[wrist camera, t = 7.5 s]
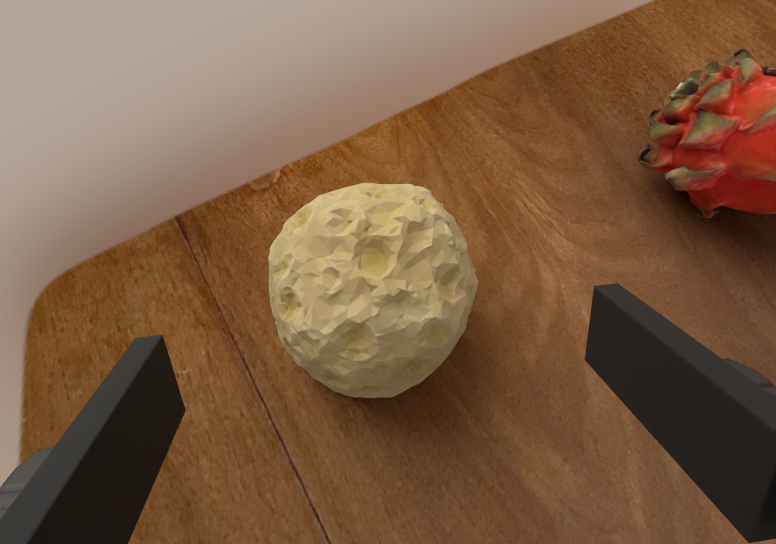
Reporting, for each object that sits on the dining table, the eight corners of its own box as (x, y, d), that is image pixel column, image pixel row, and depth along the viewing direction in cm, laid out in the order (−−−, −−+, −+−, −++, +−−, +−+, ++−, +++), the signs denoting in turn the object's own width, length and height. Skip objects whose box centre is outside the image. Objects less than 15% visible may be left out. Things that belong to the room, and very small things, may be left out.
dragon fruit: (584, 170, 30) (744, 202, 32) (651, 230, 23) (854, 268, 24) (650, 26, 26) (832, 71, 27) (758, 44, 18) (997, 105, 20)
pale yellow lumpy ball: (395, 411, 26) (548, 379, 19) (223, 412, 20) (355, 367, 13) (381, 259, 30) (506, 185, 23) (233, 222, 24) (340, 107, 17)
